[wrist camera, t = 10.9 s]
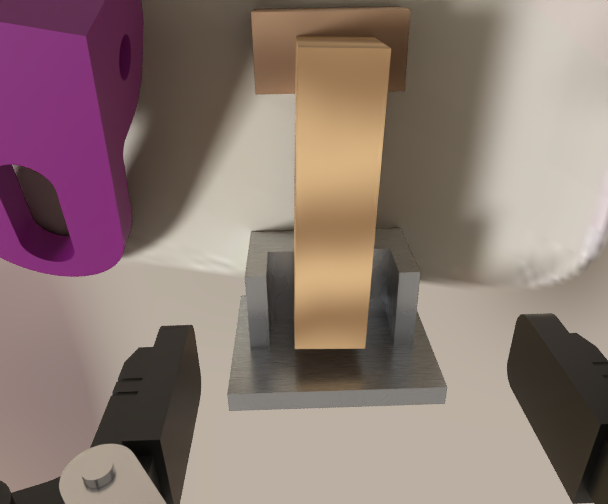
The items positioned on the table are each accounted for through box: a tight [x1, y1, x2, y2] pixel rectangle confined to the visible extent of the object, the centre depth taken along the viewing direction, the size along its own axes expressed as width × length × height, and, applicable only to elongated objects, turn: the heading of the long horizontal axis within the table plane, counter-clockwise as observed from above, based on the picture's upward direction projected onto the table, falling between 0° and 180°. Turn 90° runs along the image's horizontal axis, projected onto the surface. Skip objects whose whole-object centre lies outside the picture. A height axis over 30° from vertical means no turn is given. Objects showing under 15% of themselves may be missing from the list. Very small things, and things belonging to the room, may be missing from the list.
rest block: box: [251, 7, 410, 94], centre depth 29 cm, size 4×8×3 cm, turn 91°
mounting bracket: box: [0, 0, 143, 277], centre depth 30 cm, size 9×8×18 cm
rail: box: [294, 36, 391, 349], centre depth 28 cm, size 16×4×5 cm, turn 179°
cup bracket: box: [227, 228, 447, 411], centre depth 32 cm, size 6×12×10 cm, turn 91°
